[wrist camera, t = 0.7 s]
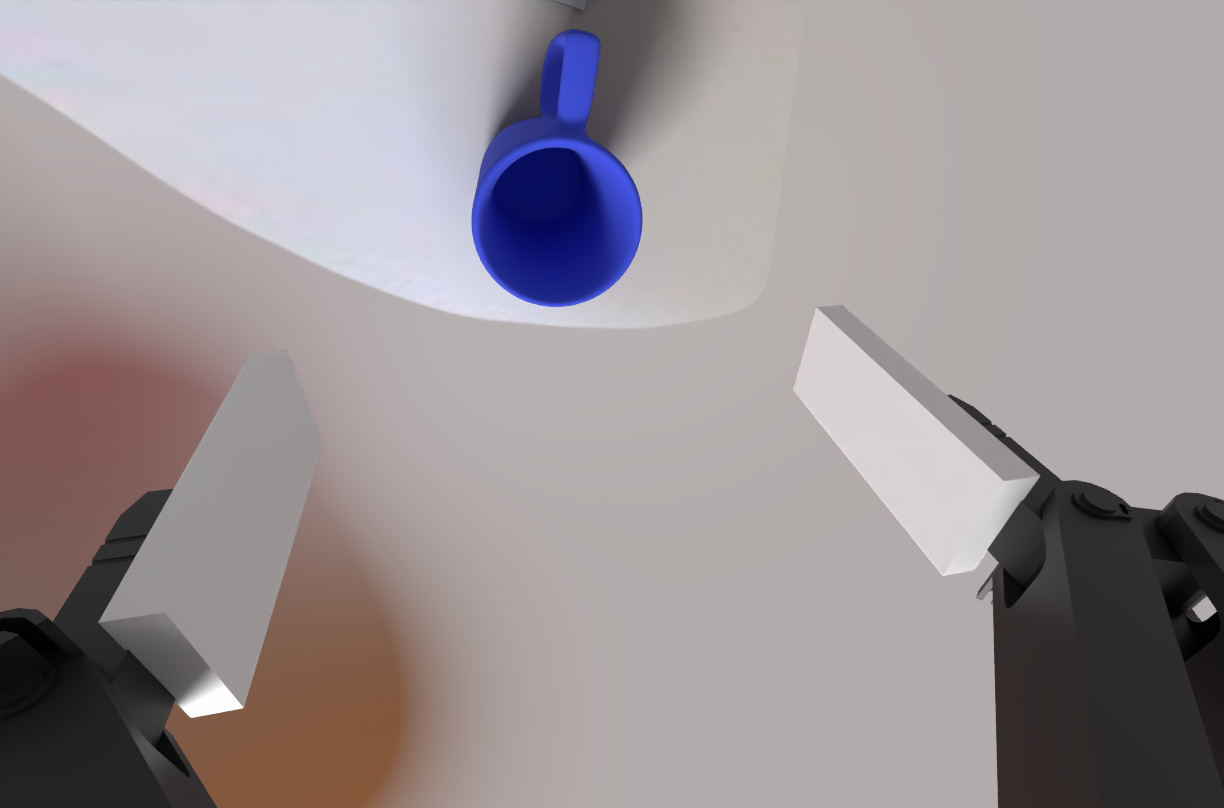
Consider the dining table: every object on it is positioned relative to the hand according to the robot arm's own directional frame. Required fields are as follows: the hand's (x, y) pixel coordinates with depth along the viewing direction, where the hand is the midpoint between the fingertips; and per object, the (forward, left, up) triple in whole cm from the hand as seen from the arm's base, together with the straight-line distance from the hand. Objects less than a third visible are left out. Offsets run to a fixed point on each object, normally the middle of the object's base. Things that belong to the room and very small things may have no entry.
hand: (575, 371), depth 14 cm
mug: (-1, +2, -24) cm, 24 cm away
